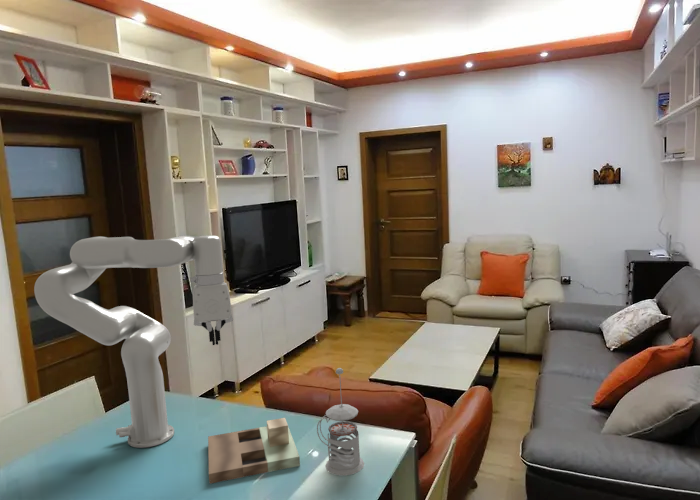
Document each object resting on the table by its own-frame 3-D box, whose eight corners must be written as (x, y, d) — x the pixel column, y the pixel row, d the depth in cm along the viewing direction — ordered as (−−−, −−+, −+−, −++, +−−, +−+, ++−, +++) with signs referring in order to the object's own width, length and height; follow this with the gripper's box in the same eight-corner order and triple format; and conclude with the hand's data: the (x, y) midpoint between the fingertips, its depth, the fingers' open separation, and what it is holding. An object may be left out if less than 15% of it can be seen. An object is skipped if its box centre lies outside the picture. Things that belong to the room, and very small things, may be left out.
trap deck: (209, 483, 121) (208, 473, 120) (208, 445, 140) (208, 436, 140) (300, 465, 127) (299, 456, 126) (287, 430, 146) (286, 422, 145)
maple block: (270, 447, 132) (268, 428, 131) (267, 438, 137) (266, 420, 136) (289, 443, 133) (287, 425, 133) (286, 435, 138) (285, 417, 137)
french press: (356, 478, 120) (351, 377, 117) (312, 471, 124) (306, 373, 121) (369, 457, 129) (364, 363, 126) (327, 451, 133) (322, 359, 130)
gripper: (181, 284, 135) (187, 351, 137) (238, 279, 139) (243, 343, 141) (182, 280, 142) (188, 343, 144) (236, 275, 146) (241, 336, 148)
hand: (215, 343), depth 143 cm, fingers closed
